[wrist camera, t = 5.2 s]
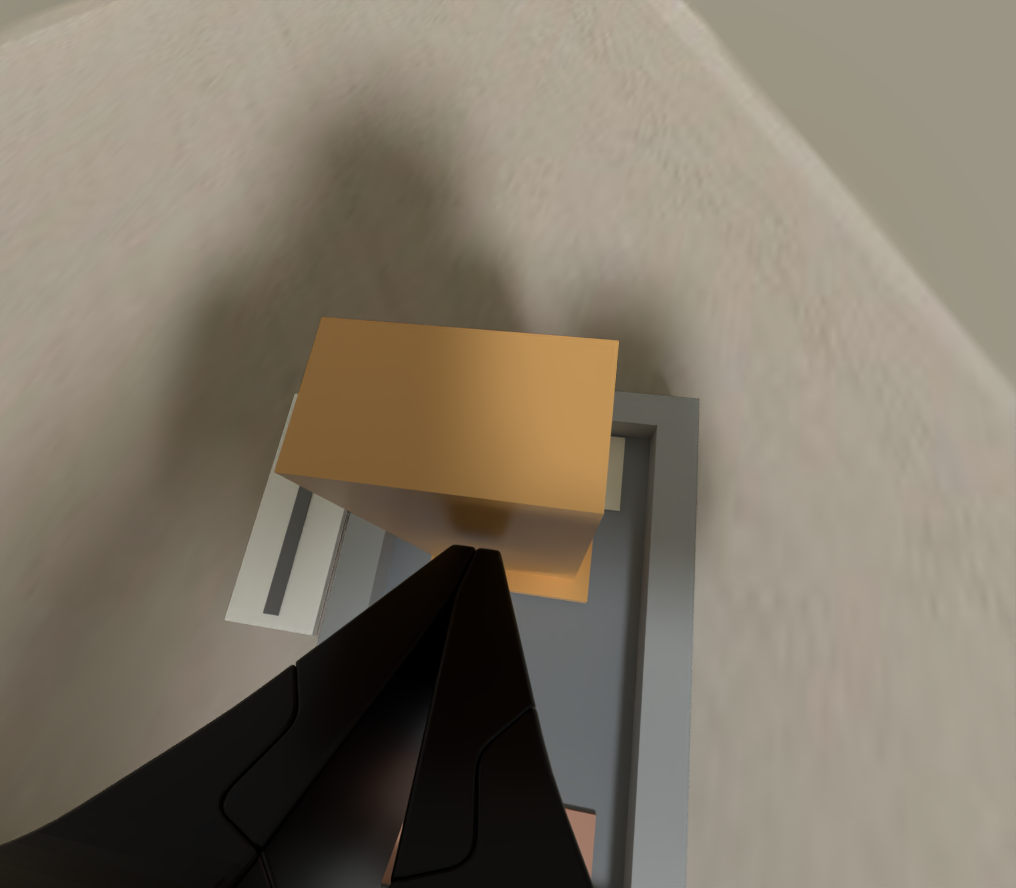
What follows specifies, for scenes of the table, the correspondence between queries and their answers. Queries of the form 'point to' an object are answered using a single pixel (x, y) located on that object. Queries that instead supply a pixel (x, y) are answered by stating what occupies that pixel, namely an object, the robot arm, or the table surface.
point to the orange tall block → (462, 441)
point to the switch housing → (550, 633)
